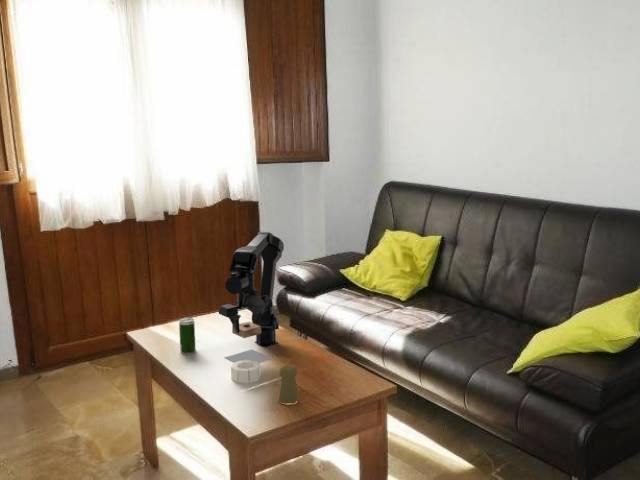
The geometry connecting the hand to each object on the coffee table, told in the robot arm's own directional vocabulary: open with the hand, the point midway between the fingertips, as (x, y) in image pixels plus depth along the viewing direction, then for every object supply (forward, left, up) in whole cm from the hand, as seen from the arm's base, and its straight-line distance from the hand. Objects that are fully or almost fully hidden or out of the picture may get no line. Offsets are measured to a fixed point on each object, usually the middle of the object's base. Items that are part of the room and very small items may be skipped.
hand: (246, 330), depth 225 cm
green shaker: (+8, +33, -12) cm, 36 cm away
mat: (-2, -2, -11) cm, 11 cm away
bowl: (+8, +11, -11) cm, 18 cm away
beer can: (+10, -22, -12) cm, 27 cm away
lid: (0, 0, -1) cm, 1 cm away
